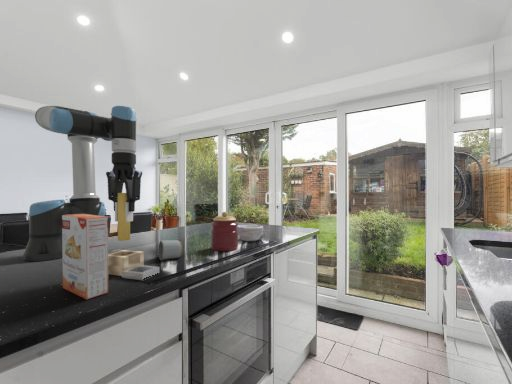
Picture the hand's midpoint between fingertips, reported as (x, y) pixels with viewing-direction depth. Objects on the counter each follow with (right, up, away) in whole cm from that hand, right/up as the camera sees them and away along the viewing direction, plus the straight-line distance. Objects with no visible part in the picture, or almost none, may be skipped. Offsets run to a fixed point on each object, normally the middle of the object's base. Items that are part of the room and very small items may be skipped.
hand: (124, 221), depth 92 cm
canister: (+30, -17, +37) cm, 51 cm away
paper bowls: (+42, -17, +60) cm, 75 cm away
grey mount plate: (+8, -17, -4) cm, 19 cm away
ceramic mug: (+9, -18, +19) cm, 27 cm away
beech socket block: (0, -17, 0) cm, 17 cm away
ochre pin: (0, -6, 0) cm, 6 cm away
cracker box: (-2, -18, -19) cm, 26 cm away
